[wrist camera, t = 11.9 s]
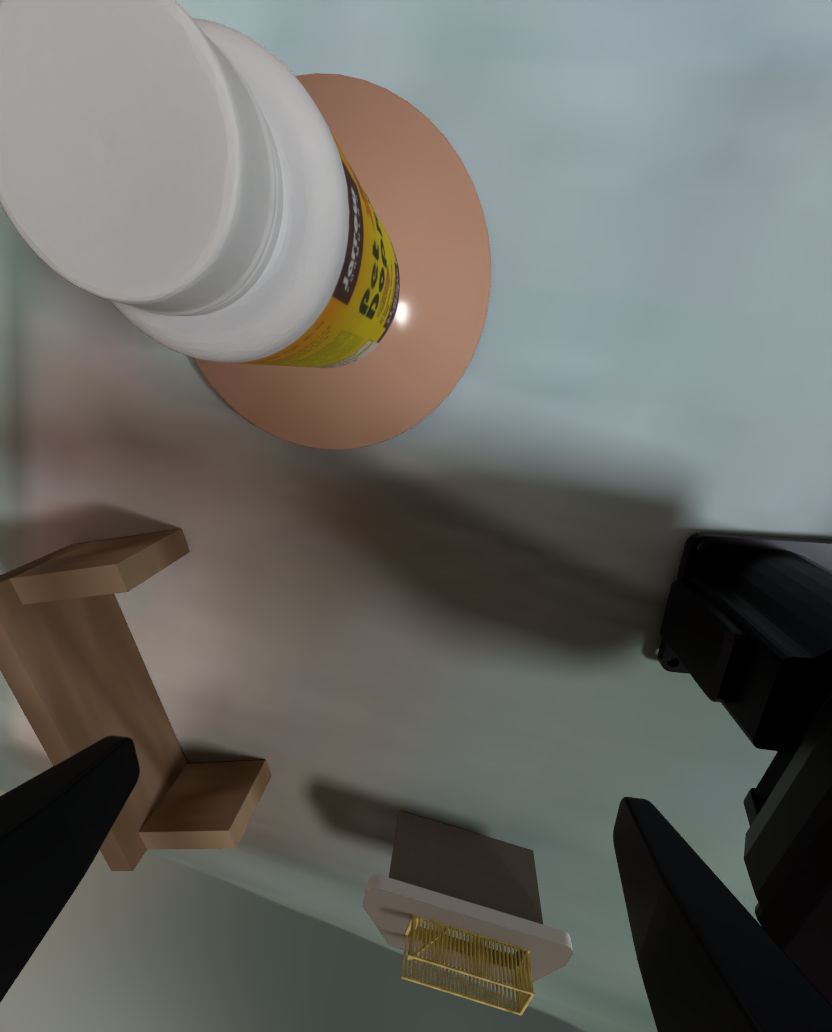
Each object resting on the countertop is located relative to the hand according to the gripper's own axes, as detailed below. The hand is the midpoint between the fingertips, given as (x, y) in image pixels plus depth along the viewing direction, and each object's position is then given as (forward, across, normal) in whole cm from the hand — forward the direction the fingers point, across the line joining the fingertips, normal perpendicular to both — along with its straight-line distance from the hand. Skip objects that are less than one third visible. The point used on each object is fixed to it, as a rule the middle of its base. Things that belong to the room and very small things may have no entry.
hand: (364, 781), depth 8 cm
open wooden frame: (+12, +13, +8) cm, 20 cm away
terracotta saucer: (+12, +4, -10) cm, 16 cm away
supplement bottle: (+11, +4, -10) cm, 16 cm away
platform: (+13, -3, +19) cm, 23 cm away
